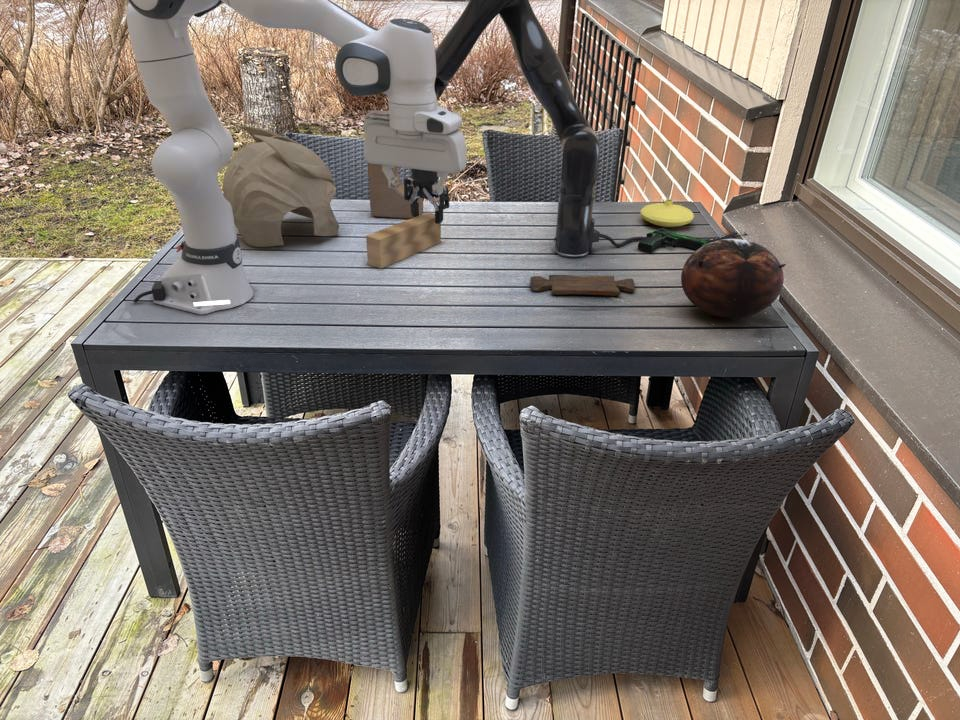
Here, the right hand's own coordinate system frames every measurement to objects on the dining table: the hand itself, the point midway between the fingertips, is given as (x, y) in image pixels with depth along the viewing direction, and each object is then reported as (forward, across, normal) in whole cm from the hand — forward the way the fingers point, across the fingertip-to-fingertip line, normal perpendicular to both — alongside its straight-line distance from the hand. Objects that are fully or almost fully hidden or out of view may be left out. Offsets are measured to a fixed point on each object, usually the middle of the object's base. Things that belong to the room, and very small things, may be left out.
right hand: (427, 219), depth 196 cm
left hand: (-25, +34, -40) cm, 58 cm away
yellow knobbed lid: (+8, +44, +59) cm, 74 cm away
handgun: (+8, +54, +41) cm, 68 cm away
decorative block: (+7, -23, +12) cm, 27 cm away
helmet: (+7, -35, -21) cm, 42 cm away
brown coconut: (+8, +81, +12) cm, 82 cm away
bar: (+7, 0, -9) cm, 11 cm away
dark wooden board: (+7, +49, +2) cm, 49 cm away
